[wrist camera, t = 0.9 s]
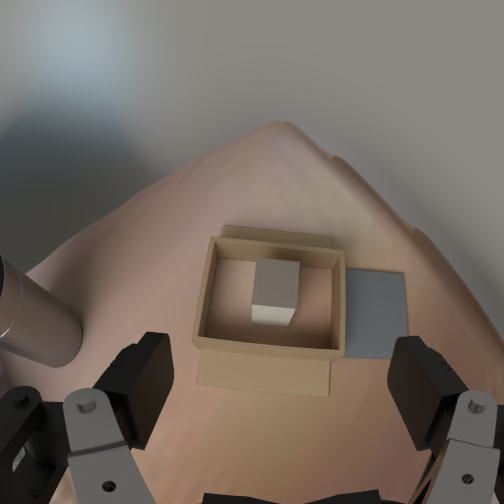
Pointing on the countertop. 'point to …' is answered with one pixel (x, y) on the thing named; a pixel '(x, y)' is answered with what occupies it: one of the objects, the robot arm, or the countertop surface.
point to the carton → (260, 355)
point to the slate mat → (374, 313)
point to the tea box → (275, 291)
